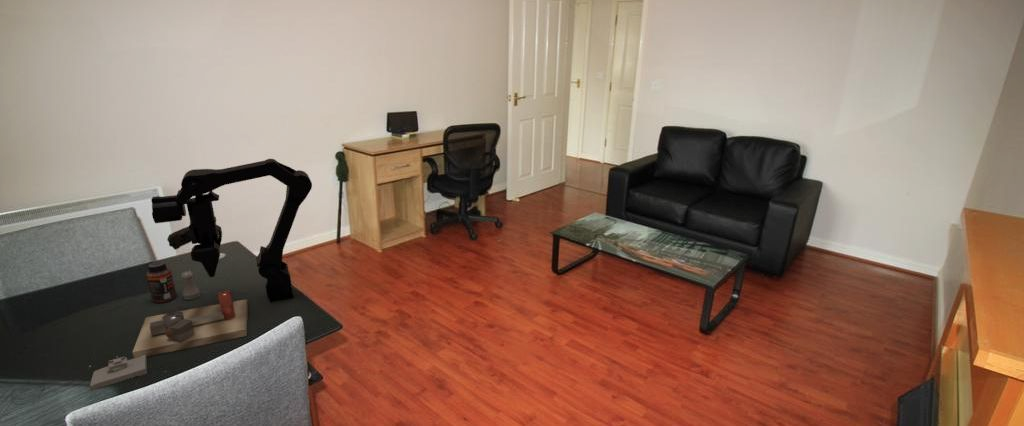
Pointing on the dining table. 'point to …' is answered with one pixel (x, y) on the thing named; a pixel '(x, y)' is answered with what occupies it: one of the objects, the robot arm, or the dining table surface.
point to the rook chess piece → (189, 286)
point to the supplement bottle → (160, 282)
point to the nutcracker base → (199, 330)
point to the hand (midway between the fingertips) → (212, 269)
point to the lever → (177, 316)
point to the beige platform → (119, 371)
